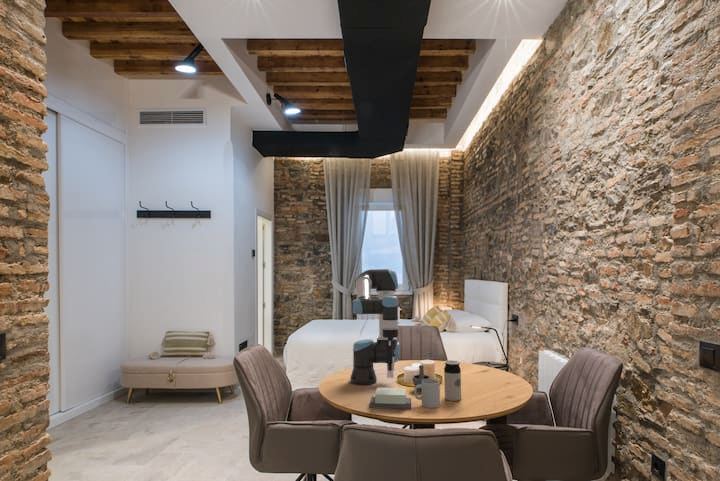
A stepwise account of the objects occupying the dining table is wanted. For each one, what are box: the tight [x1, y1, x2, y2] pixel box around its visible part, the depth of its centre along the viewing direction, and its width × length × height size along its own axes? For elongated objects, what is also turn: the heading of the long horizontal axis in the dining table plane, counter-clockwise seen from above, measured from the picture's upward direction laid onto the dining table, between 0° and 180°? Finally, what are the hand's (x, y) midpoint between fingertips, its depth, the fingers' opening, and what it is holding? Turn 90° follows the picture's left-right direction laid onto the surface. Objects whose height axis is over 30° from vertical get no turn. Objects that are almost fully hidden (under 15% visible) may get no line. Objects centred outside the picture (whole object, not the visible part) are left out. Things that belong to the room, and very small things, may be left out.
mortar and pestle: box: [412, 364, 432, 393], centre depth 217 cm, size 11×9×12 cm
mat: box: [369, 396, 412, 410], centre depth 192 cm, size 8×19×2 cm, turn 83°
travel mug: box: [443, 359, 462, 402], centre depth 201 cm, size 8×8×18 cm
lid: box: [374, 387, 407, 404], centre depth 192 cm, size 11×14×4 cm
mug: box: [413, 378, 441, 409], centre depth 192 cm, size 12×8×11 cm
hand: (390, 373), depth 193 cm, fingers open, 13 cm apart
